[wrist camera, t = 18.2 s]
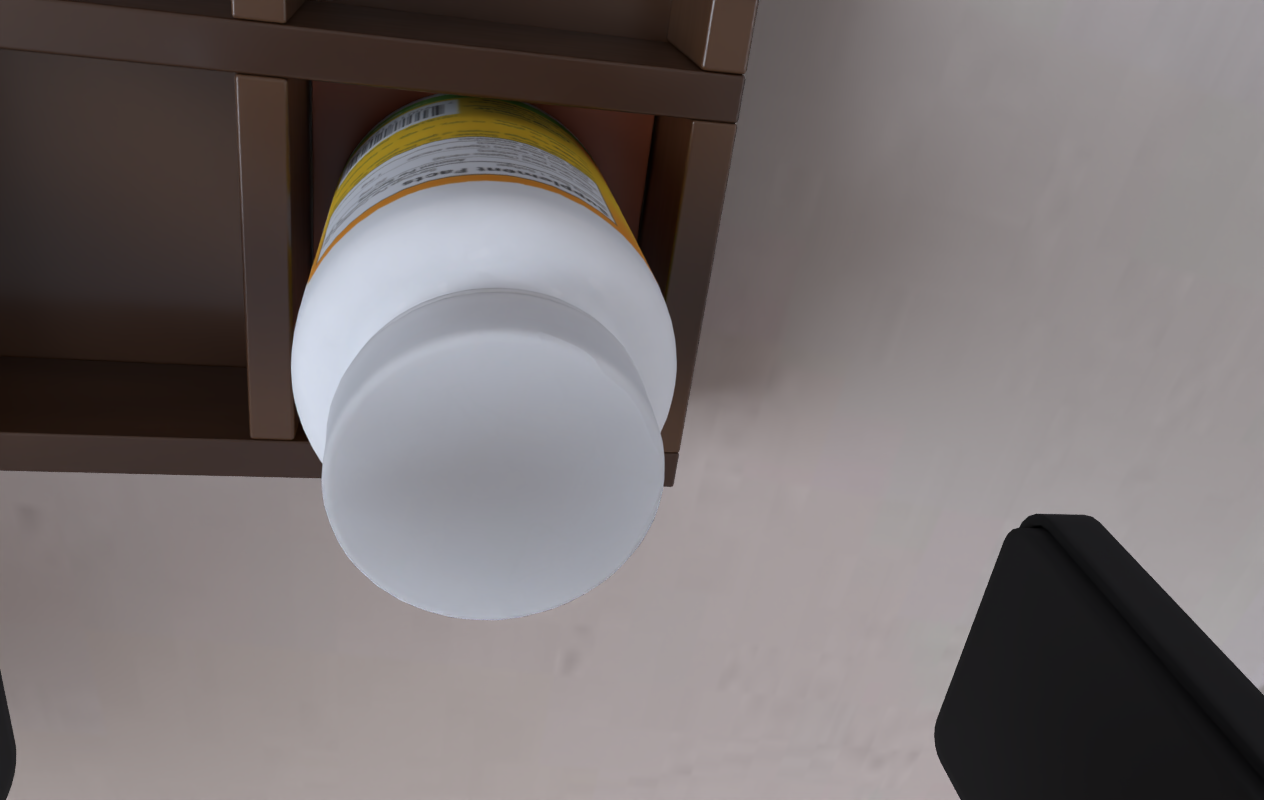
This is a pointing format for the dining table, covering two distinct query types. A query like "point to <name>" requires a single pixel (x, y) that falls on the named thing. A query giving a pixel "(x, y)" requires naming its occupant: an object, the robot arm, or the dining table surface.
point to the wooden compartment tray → (294, 193)
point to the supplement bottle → (483, 363)
